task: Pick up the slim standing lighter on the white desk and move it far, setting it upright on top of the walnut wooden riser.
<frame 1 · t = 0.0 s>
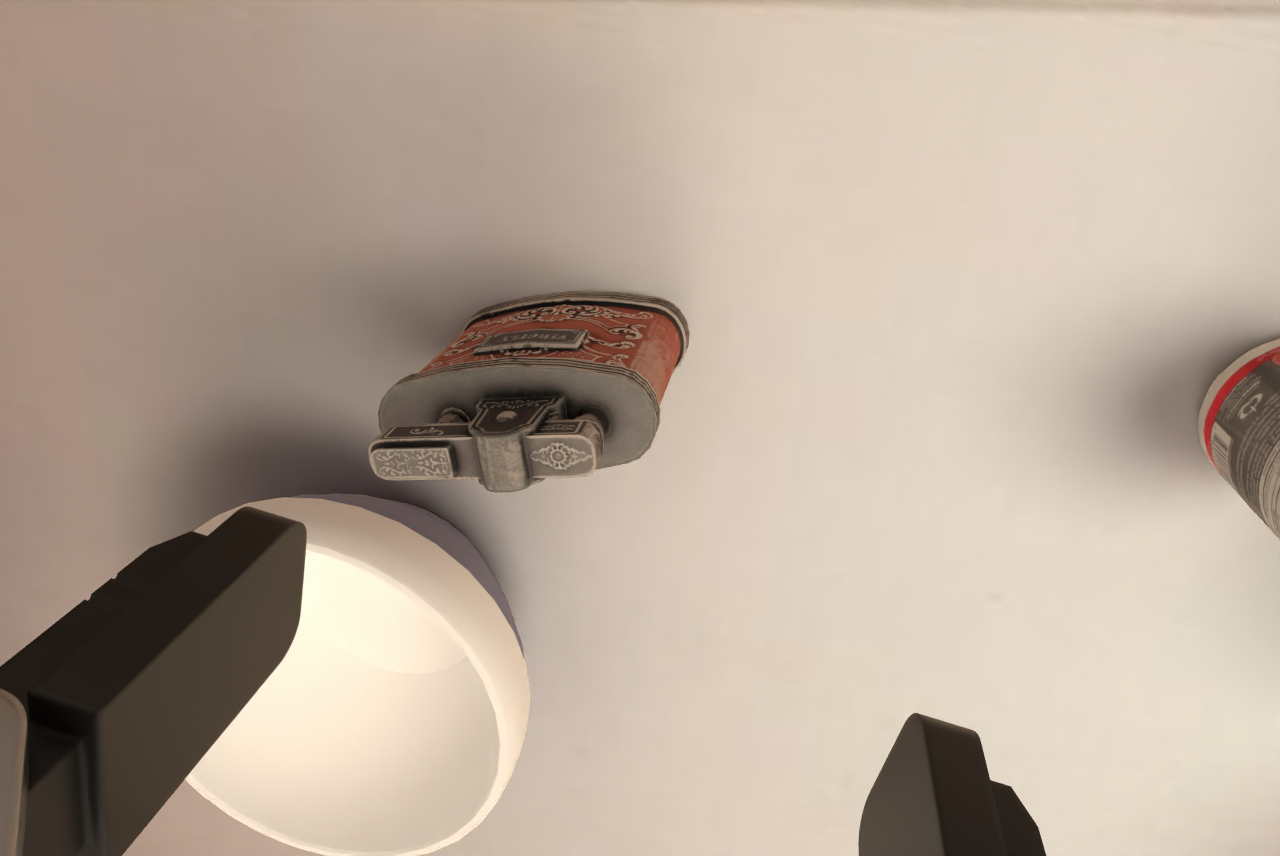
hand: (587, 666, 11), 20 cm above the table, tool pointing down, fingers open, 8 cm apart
bowl: (402, 584, 37), on the table
lighter: (577, 336, 31), on the table
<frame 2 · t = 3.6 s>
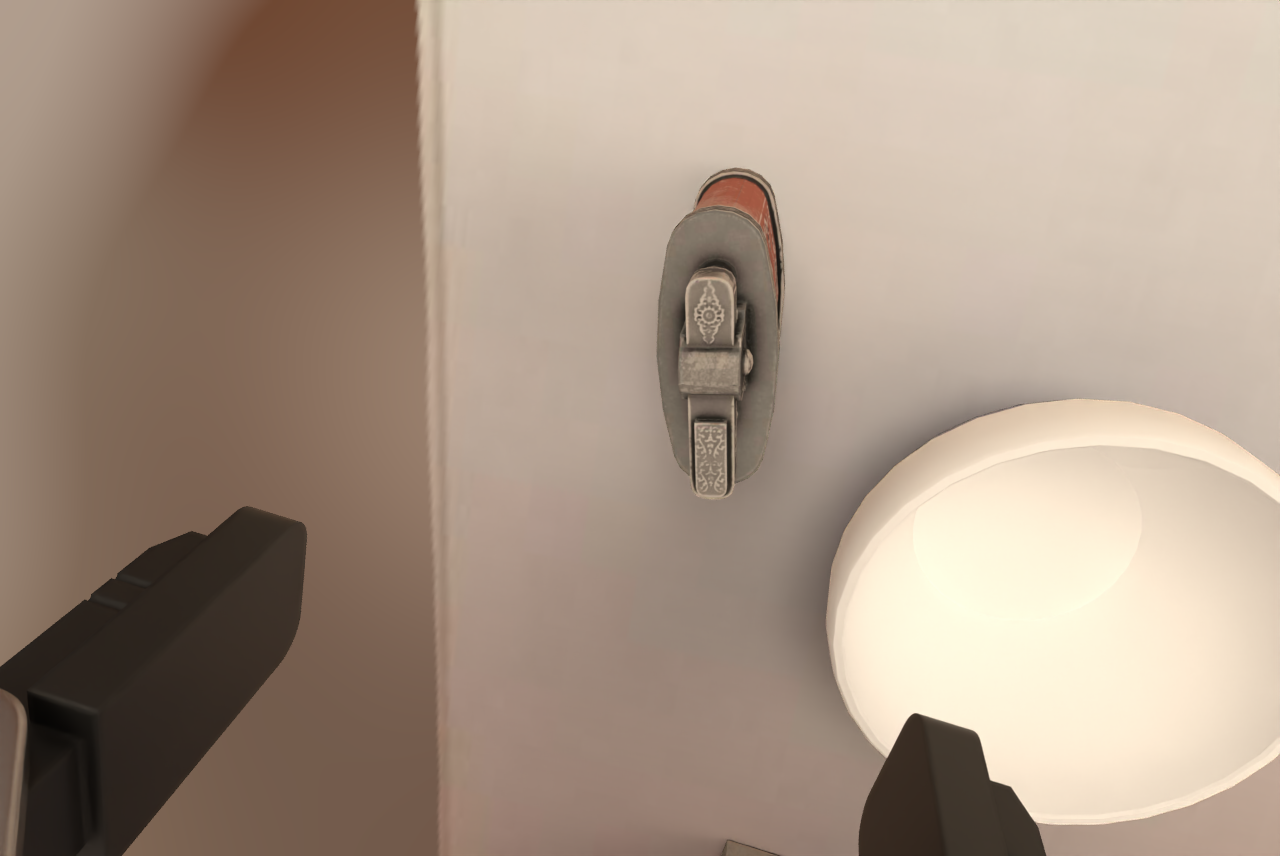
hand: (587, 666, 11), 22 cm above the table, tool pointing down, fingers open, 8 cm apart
bowl: (1018, 519, 33), on the table
lighter: (736, 284, 31), on the table
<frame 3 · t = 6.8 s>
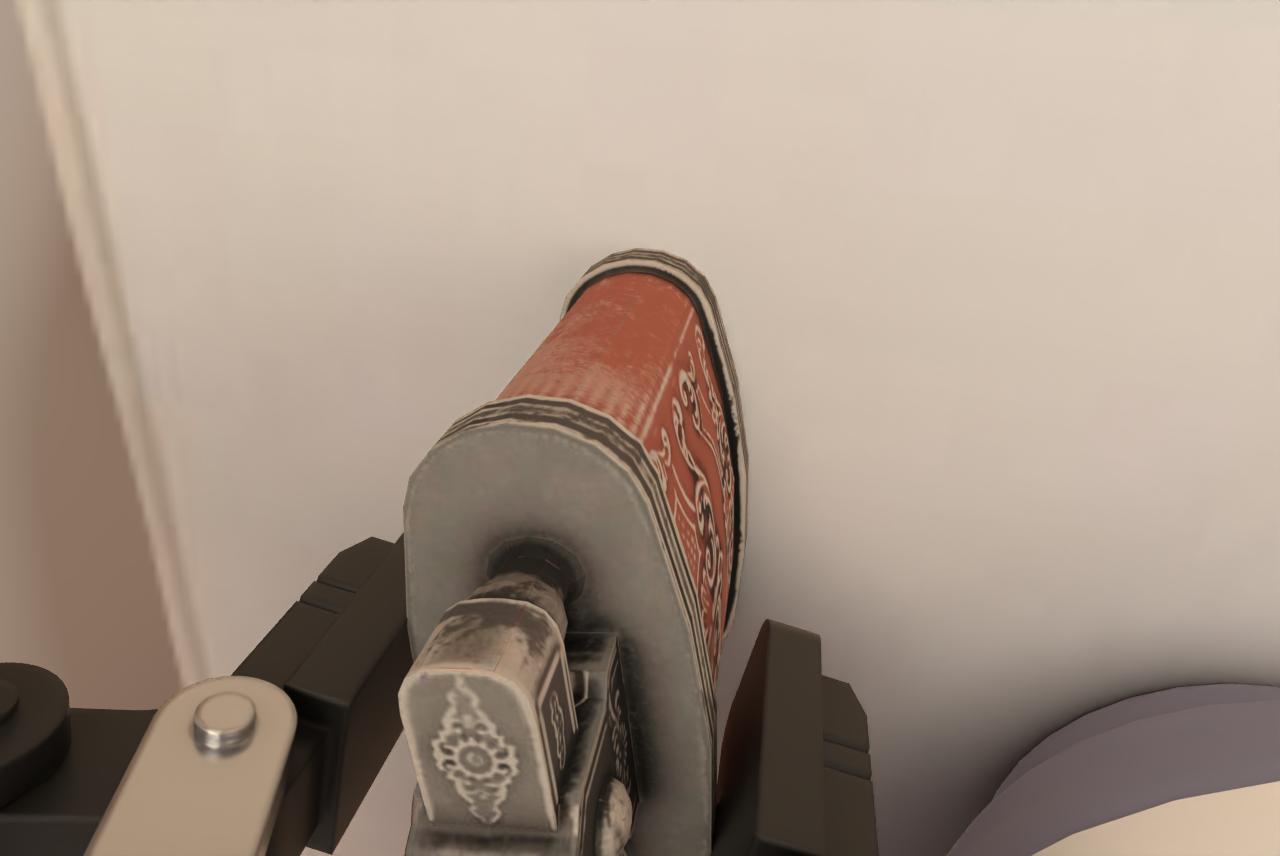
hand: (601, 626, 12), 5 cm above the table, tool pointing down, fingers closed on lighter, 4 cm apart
bowl: (1197, 834, 19), on the table
lighter: (660, 453, 17), on the table, touching gripper
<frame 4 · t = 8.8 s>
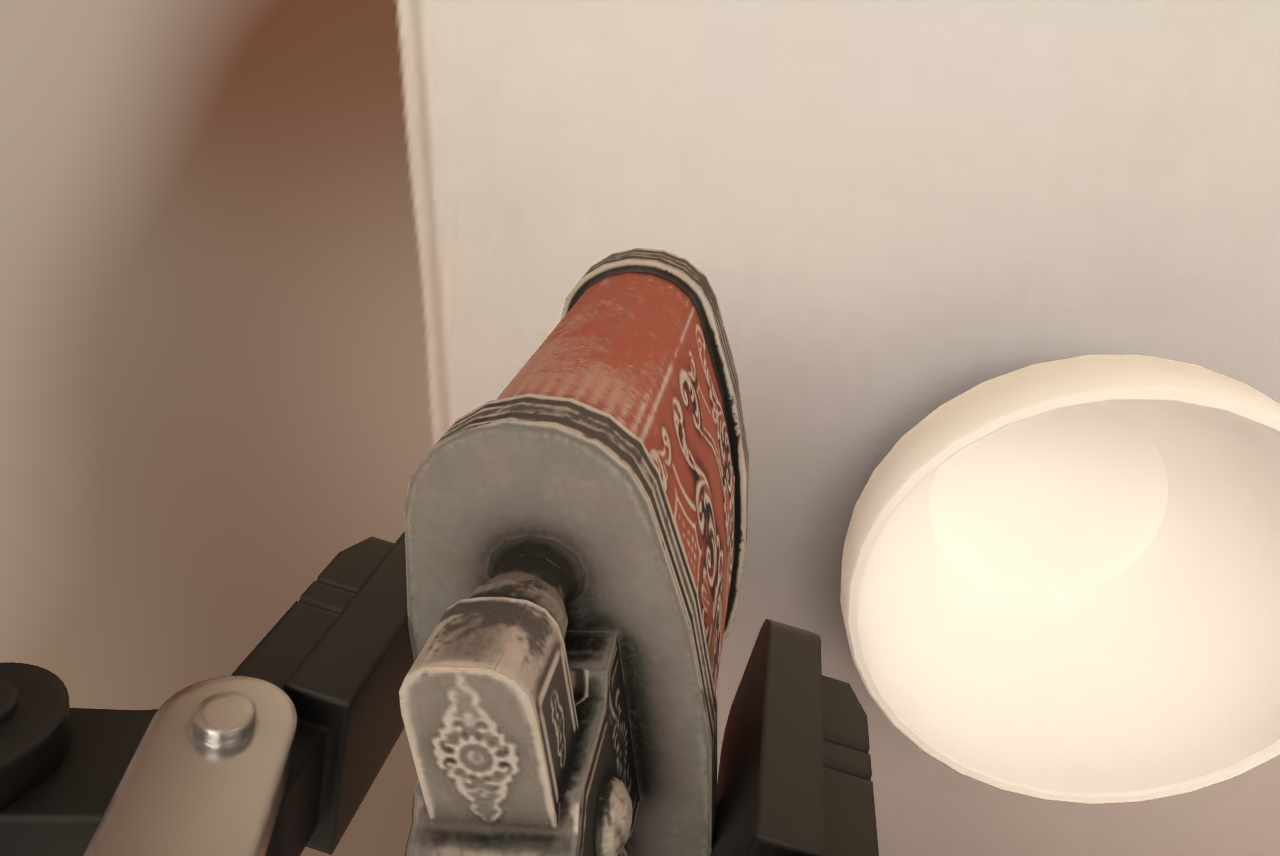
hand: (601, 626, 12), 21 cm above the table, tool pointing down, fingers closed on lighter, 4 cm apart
bowl: (1039, 490, 32), on the table
lighter: (661, 453, 17), point 15 cm above the table, touching gripper
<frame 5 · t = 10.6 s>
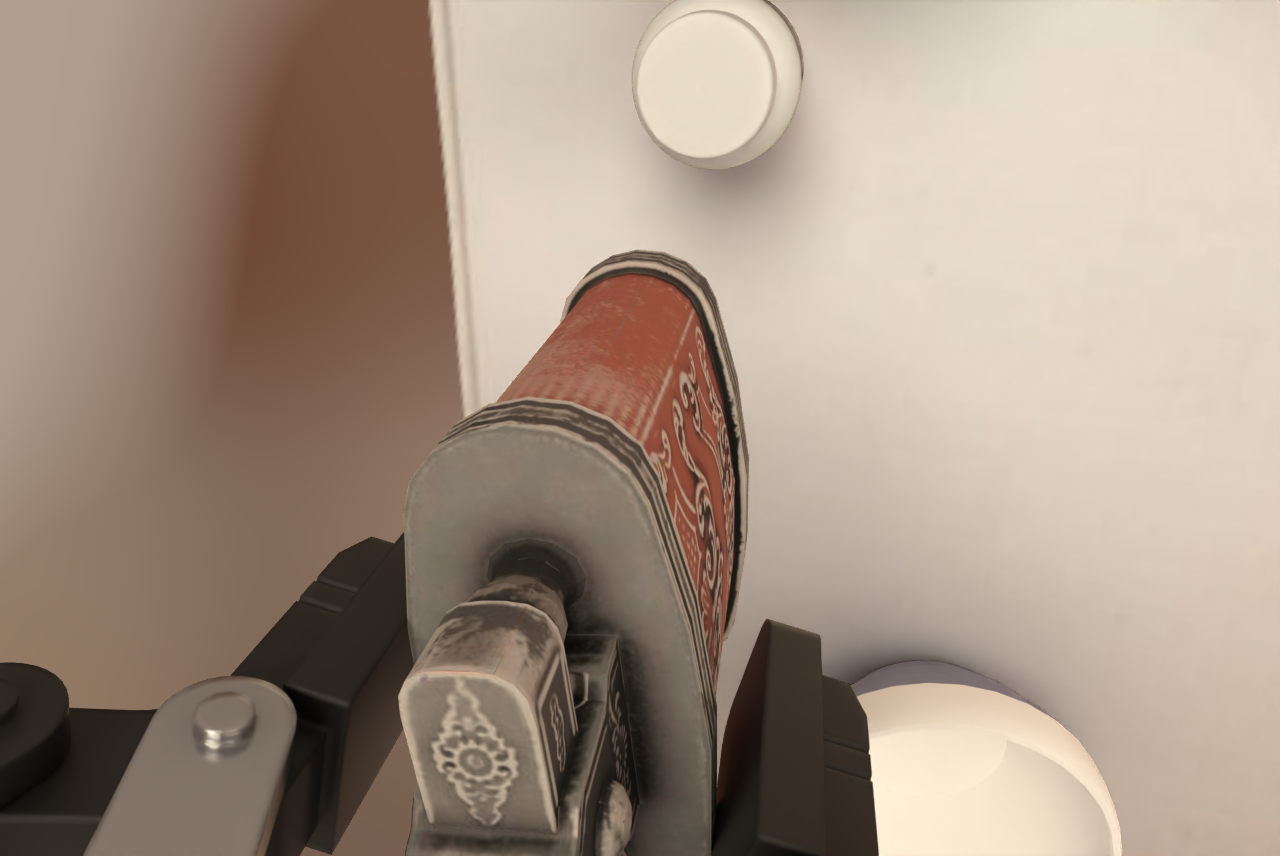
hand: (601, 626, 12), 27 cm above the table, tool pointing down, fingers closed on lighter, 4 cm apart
bowl: (922, 723, 45), on the table
pill bottle: (733, 71, 34), on the table
lighter: (661, 455, 17), point 22 cm above the table, touching gripper
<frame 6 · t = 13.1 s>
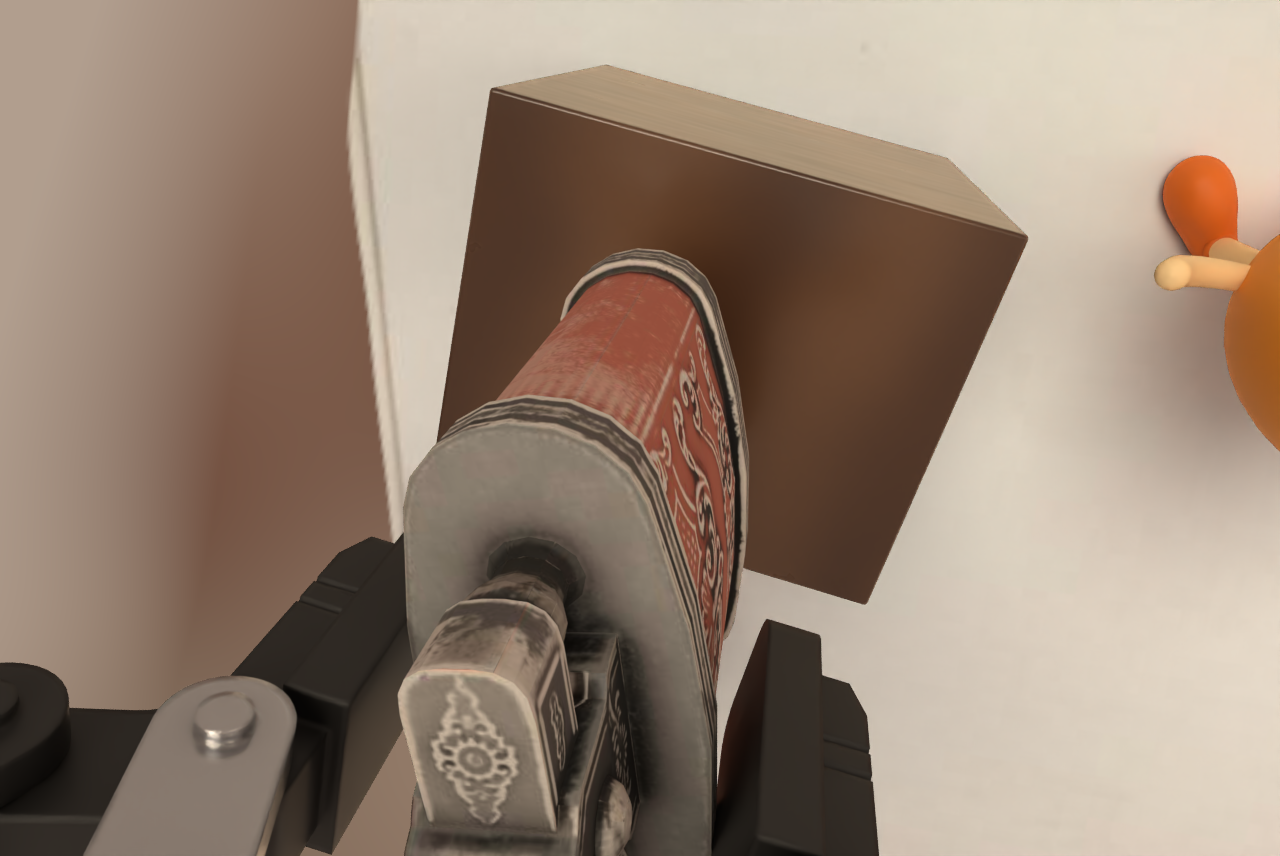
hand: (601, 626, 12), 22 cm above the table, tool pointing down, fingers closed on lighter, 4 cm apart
lighter: (661, 453, 17), point 17 cm above the table, touching gripper
riser: (733, 253, 32), on the table
toy figure: (1240, 261, 29), on the table
when the fingers open (17 cm above the table, at t = 14.7 s): lighter stays where it is, resting on riser.
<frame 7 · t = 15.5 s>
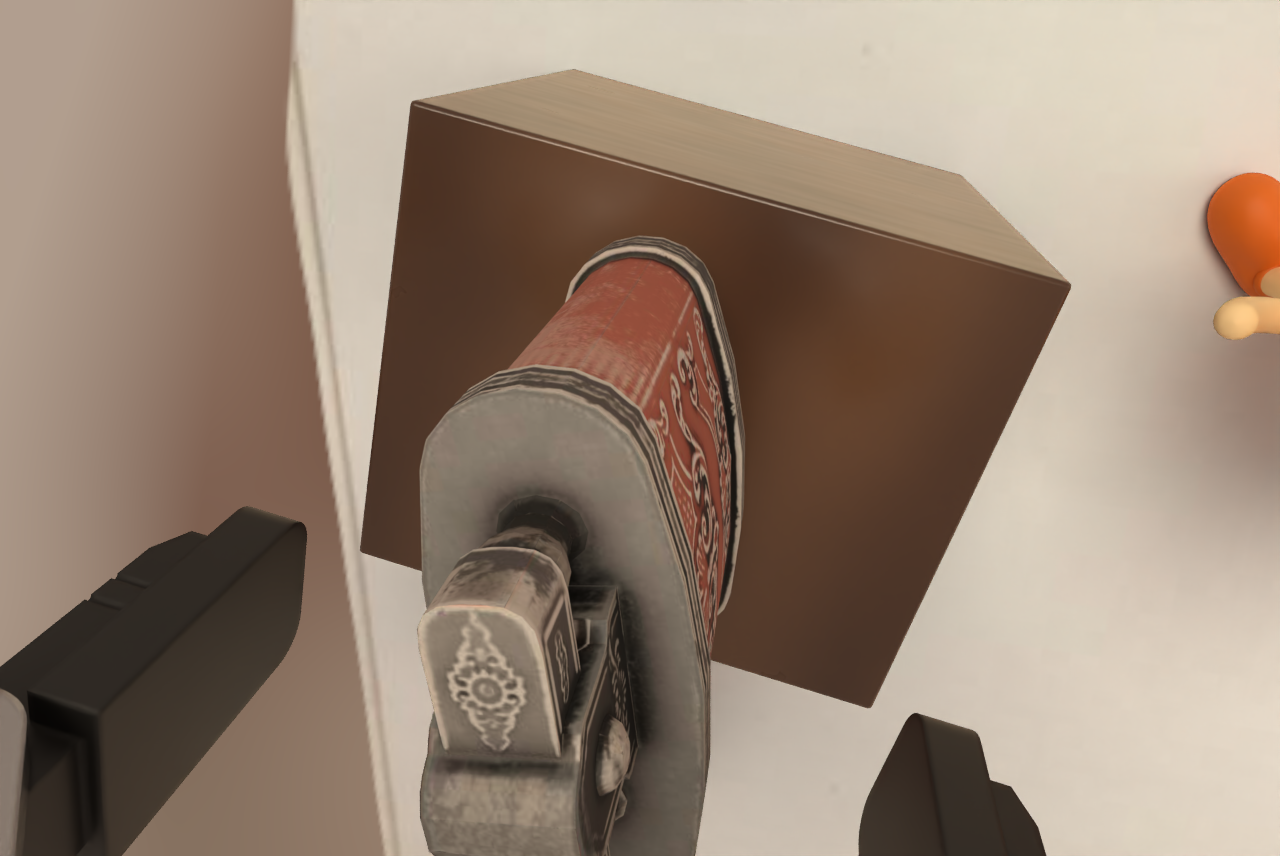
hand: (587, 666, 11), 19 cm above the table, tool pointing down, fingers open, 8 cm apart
lighter: (661, 433, 18), point 12 cm above the table, touching riser
riser: (719, 280, 28), on the table
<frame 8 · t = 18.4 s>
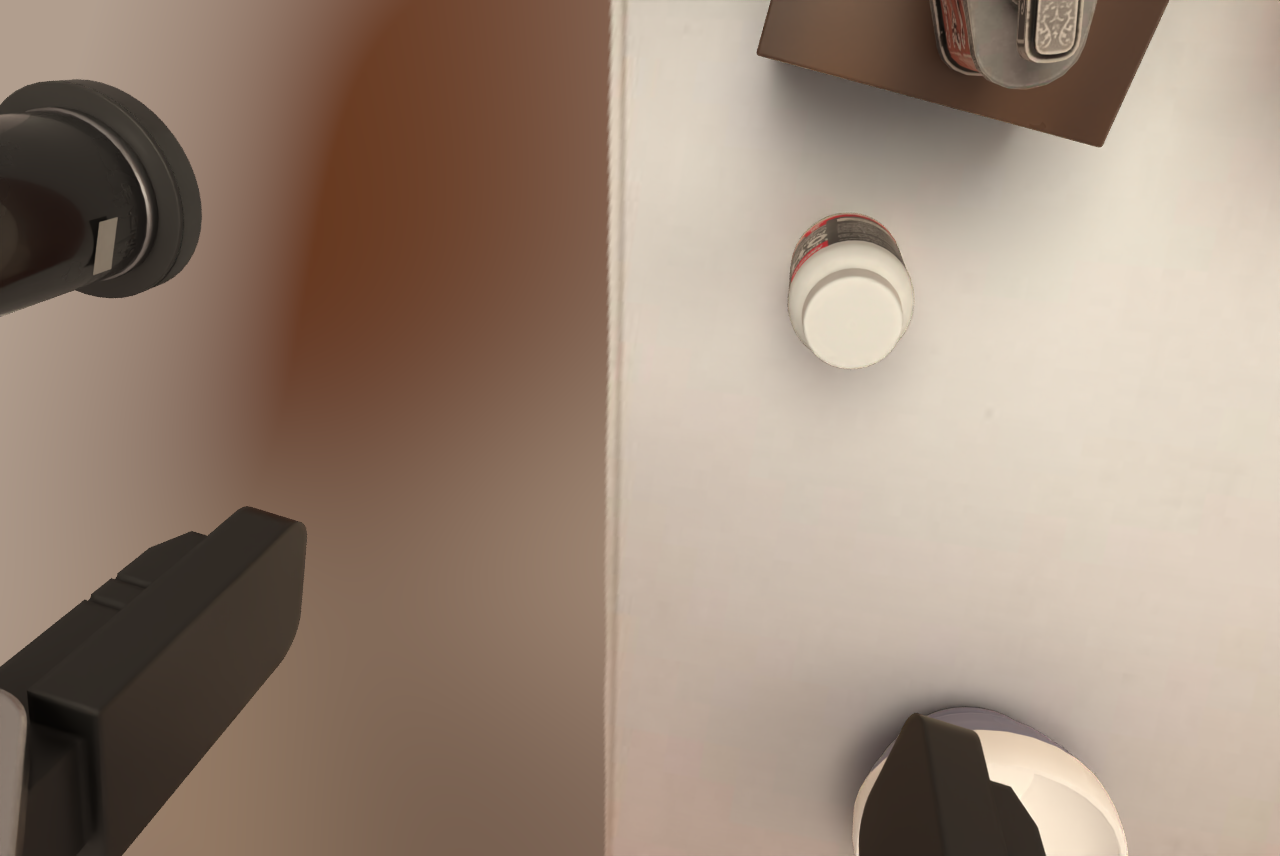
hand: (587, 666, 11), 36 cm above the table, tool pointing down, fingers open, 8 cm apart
bowl: (965, 756, 56), on the table
pill bottle: (844, 264, 45), on the table
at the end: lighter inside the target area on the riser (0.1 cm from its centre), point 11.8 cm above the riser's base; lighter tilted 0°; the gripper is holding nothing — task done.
